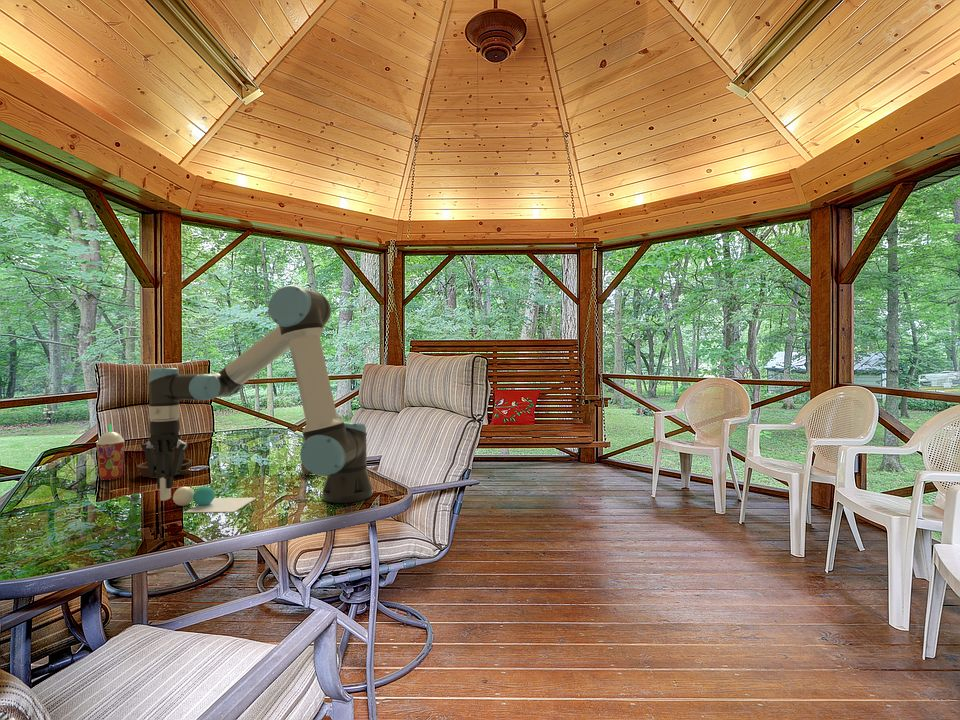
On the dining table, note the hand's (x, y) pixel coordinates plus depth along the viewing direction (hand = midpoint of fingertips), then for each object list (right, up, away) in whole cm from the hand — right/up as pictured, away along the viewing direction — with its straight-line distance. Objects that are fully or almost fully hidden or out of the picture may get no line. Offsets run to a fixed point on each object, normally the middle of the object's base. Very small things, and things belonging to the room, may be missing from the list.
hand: (165, 499), depth 146 cm
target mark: (+17, -2, 0) cm, 17 cm away
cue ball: (+5, +1, 0) cm, 6 cm away
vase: (+30, -2, +38) cm, 48 cm away
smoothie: (-42, -3, +34) cm, 54 cm away
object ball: (+12, +1, 0) cm, 12 cm away
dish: (-26, -3, +40) cm, 48 cm away
